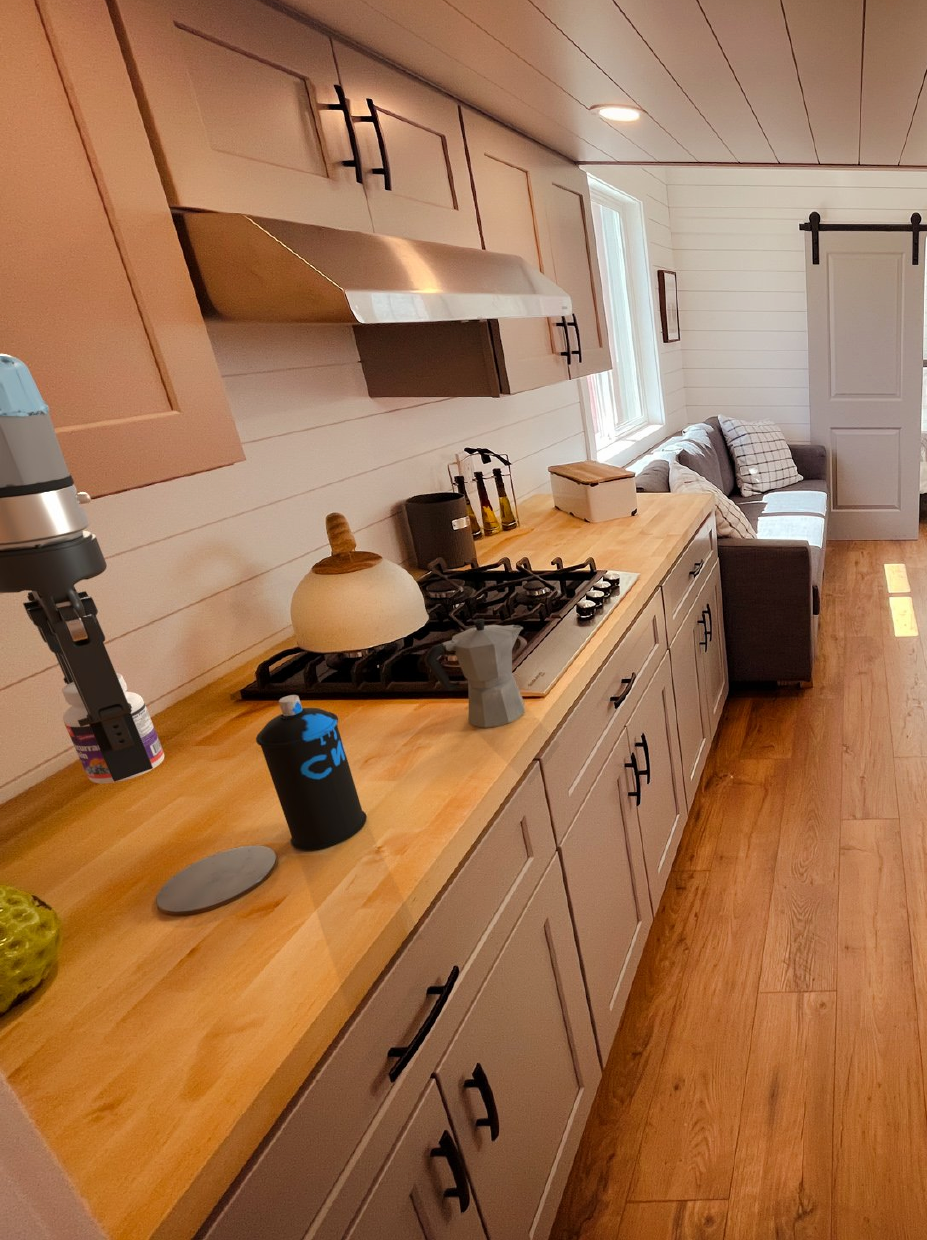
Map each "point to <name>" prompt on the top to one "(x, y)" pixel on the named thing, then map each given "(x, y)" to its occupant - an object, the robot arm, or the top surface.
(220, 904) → the coaster
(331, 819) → the aerosol can
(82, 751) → the pill bottle
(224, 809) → the top surface
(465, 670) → the coffeepot
